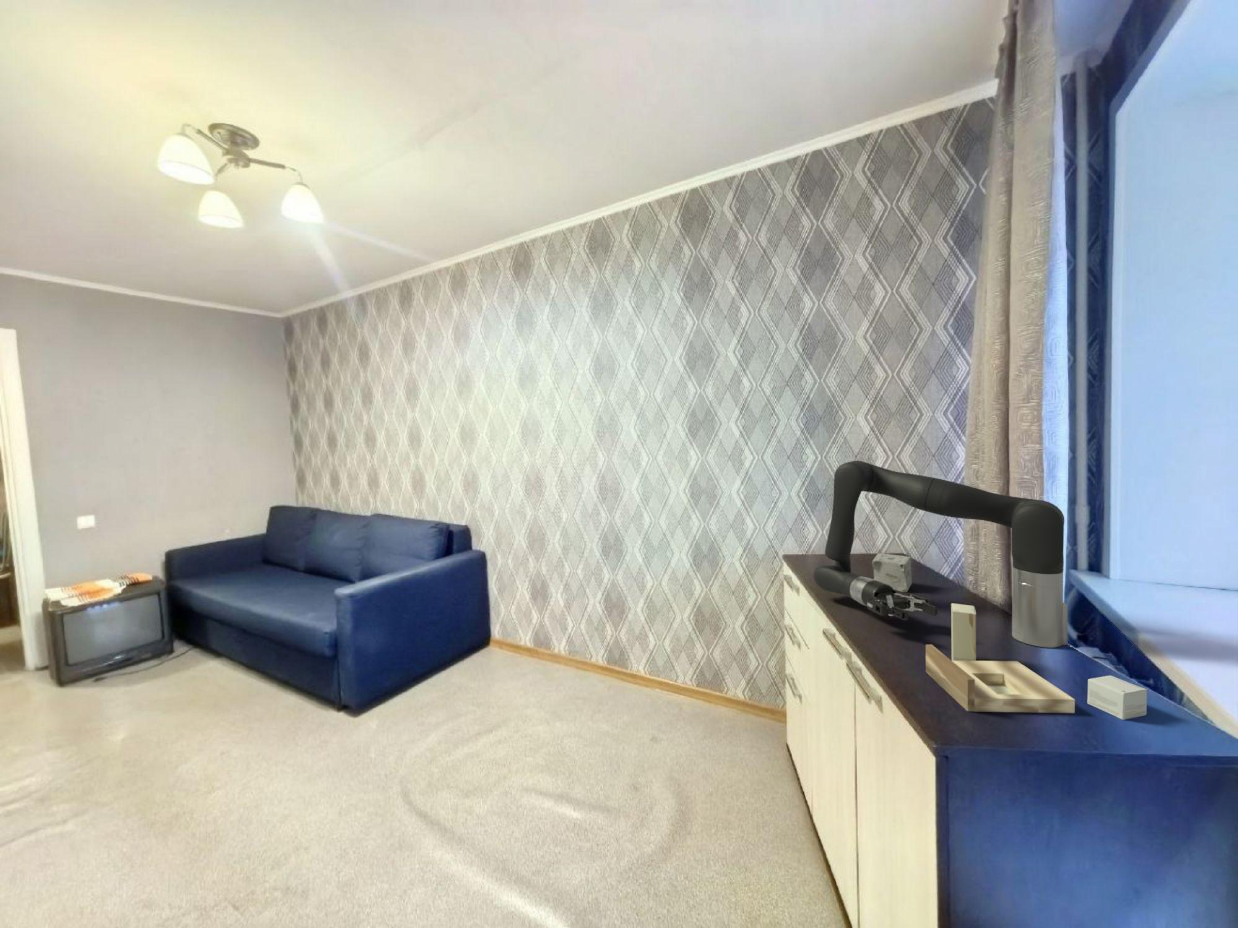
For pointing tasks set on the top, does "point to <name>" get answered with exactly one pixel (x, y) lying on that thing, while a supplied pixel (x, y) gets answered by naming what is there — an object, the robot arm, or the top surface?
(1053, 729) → the top surface
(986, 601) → the top surface
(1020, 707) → the rack
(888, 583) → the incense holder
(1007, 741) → the top surface
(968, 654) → the skincare box
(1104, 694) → the small box
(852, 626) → the top surface
